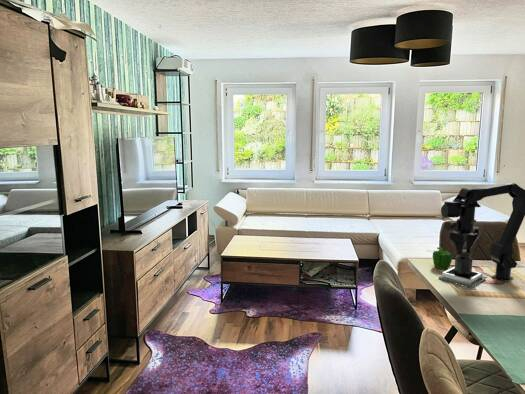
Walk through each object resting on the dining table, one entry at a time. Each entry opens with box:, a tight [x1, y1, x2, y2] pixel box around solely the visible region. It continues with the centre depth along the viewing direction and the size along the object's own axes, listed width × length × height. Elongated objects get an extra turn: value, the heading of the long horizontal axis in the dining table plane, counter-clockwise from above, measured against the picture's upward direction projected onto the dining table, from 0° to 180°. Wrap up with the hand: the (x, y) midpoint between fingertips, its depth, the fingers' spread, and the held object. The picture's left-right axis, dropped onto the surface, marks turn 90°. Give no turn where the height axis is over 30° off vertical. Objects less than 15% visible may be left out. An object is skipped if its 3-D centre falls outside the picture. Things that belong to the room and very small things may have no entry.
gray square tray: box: [438, 266, 487, 288], centre depth 175 cm, size 14×14×3 cm
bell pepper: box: [432, 247, 453, 270], centre depth 190 cm, size 8×8×10 cm
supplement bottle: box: [453, 248, 474, 279], centre depth 175 cm, size 7×7×12 cm
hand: (463, 252), depth 174 cm, fingers open, 9 cm apart
